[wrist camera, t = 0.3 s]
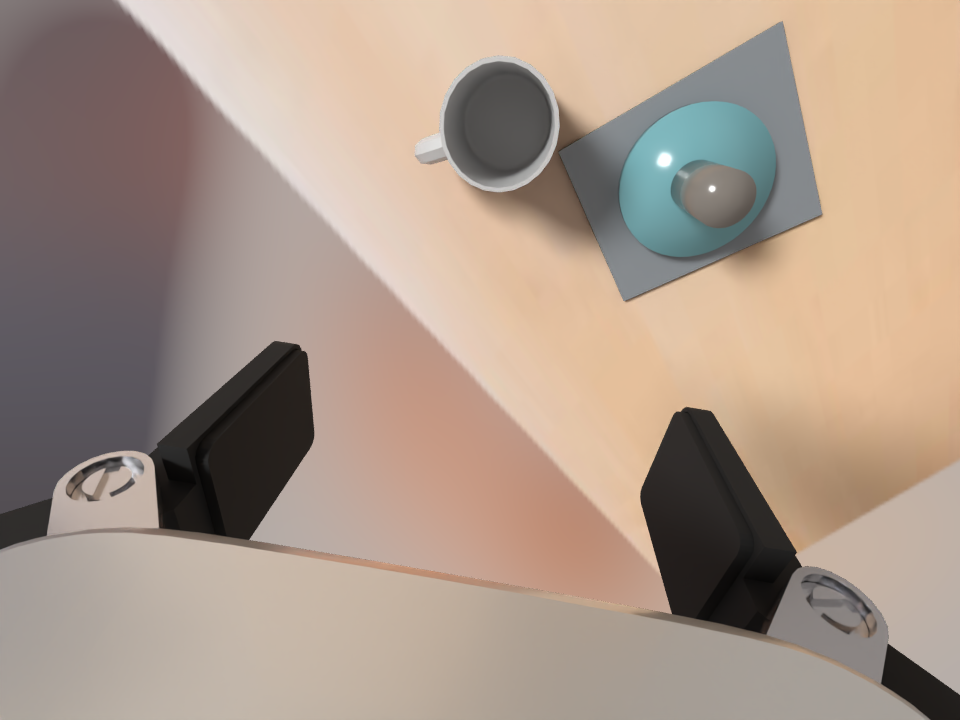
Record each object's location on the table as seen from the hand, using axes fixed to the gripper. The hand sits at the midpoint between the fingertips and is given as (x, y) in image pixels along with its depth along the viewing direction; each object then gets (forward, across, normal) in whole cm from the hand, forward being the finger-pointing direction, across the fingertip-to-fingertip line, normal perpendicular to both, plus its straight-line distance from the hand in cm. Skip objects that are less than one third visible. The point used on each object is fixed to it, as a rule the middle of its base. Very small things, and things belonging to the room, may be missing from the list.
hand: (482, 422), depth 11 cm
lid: (+29, -13, -4) cm, 32 cm away
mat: (+30, -13, -4) cm, 33 cm away
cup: (+30, +3, -6) cm, 30 cm away
